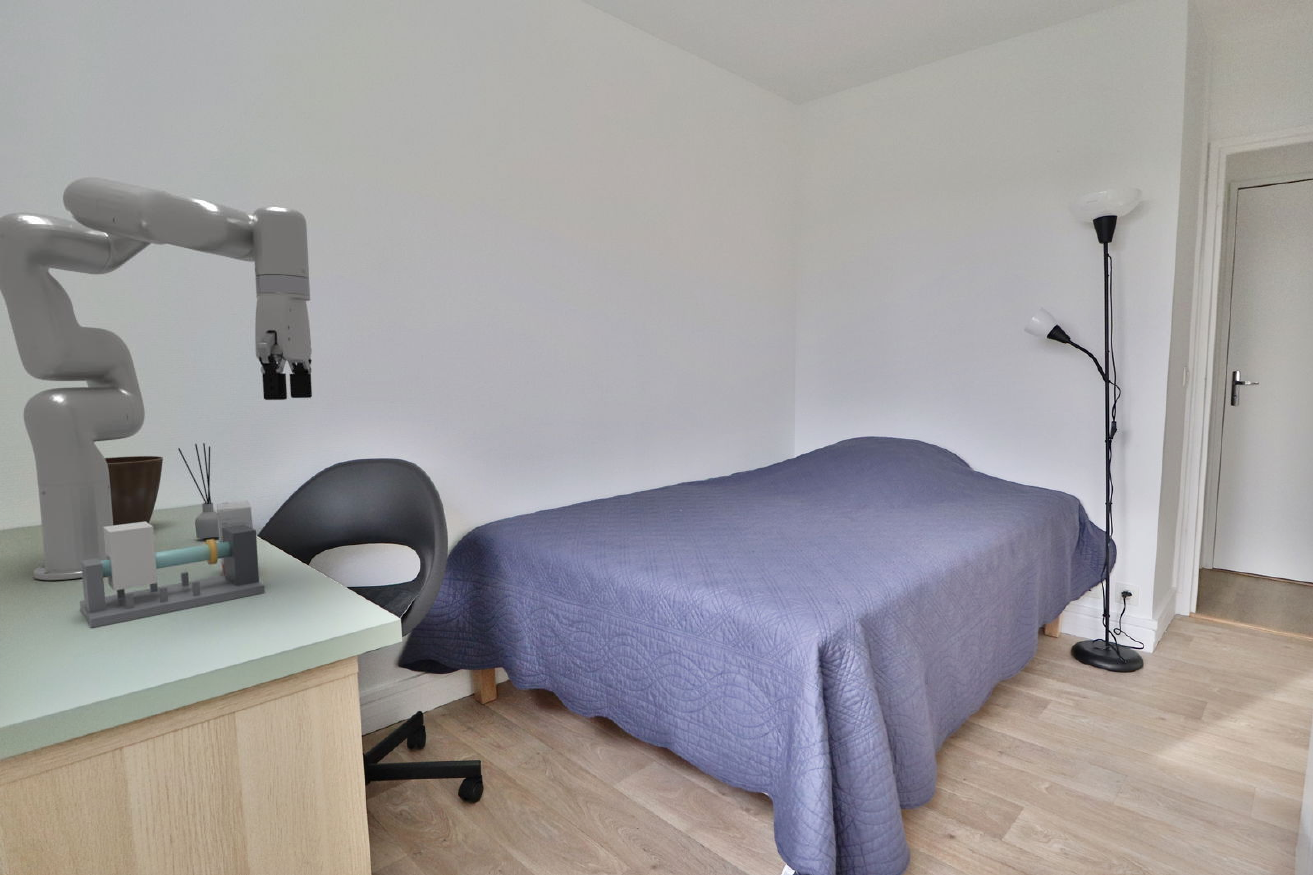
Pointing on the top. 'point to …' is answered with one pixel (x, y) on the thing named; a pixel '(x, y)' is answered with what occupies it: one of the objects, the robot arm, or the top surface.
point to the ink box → (233, 517)
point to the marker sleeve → (130, 555)
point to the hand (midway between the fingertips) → (289, 398)
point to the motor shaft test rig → (187, 594)
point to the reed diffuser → (205, 505)
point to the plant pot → (134, 487)
